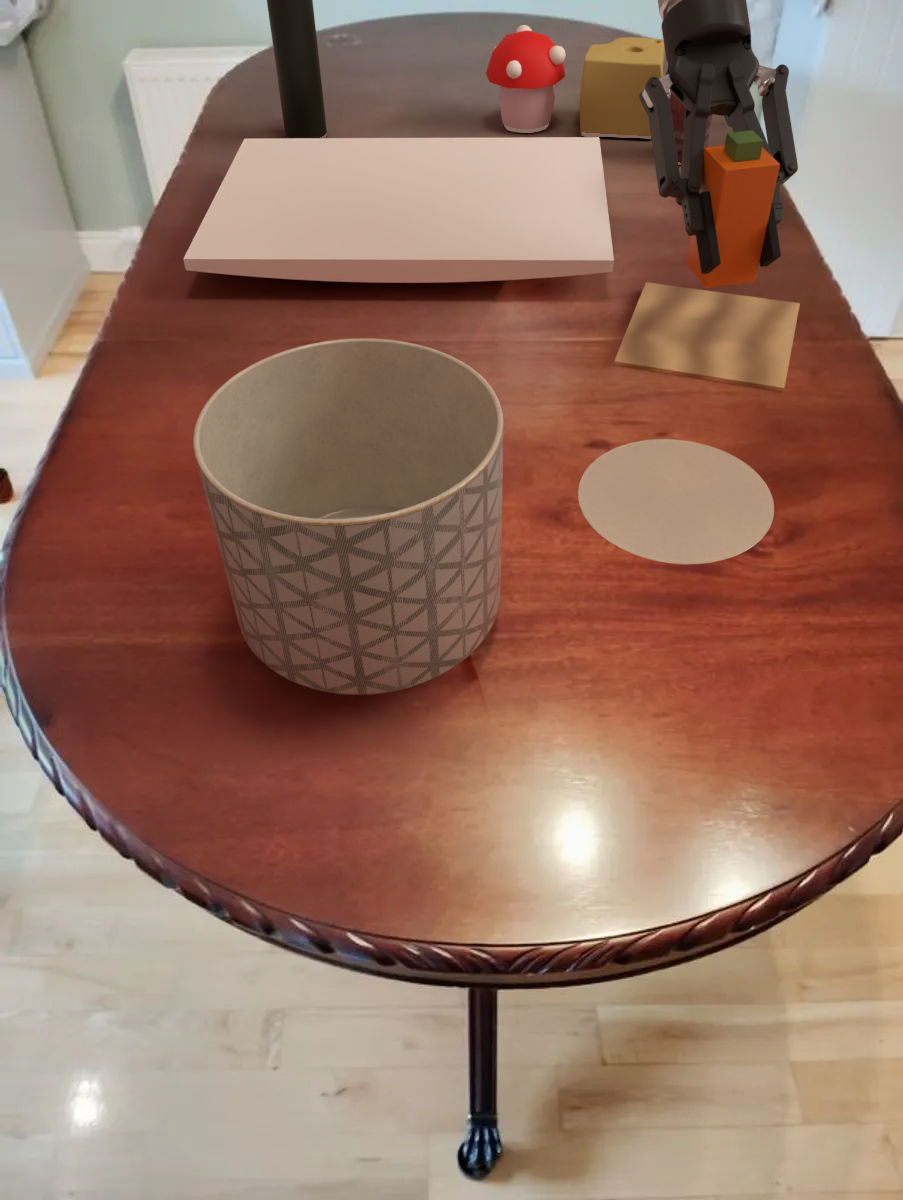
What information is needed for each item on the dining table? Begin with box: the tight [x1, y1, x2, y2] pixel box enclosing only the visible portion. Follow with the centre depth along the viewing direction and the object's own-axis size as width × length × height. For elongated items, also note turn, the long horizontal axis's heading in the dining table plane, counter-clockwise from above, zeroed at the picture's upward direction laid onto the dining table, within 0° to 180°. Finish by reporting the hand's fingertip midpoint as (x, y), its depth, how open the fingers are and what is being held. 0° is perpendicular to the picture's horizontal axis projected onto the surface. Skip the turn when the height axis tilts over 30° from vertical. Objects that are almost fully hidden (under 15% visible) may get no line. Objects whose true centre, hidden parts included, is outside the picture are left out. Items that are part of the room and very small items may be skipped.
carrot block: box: [685, 130, 780, 289], centre depth 91 cm, size 5×5×13 cm
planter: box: [192, 337, 504, 696], centre depth 68 cm, size 19×19×18 cm
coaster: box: [613, 281, 801, 393], centre depth 100 cm, size 16×16×1 cm
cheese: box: [579, 36, 665, 136], centre depth 135 cm, size 10×11×10 cm
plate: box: [577, 438, 775, 565], centre depth 83 cm, size 16×16×1 cm
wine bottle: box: [266, 0, 328, 138], centre depth 128 cm, size 6×6×30 cm
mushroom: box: [485, 24, 567, 129], centre depth 136 cm, size 11×11×12 cm
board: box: [182, 136, 615, 284], centre depth 117 cm, size 45×32×5 cm
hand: (740, 264), depth 91 cm, fingers closed on carrot block, 5 cm apart
